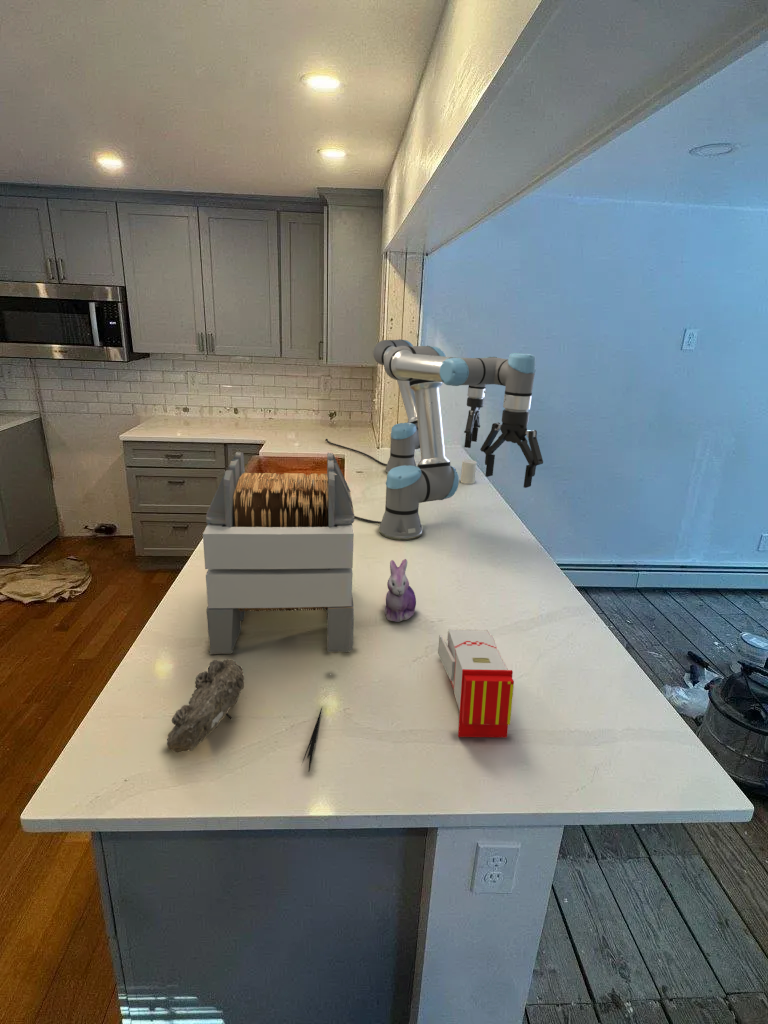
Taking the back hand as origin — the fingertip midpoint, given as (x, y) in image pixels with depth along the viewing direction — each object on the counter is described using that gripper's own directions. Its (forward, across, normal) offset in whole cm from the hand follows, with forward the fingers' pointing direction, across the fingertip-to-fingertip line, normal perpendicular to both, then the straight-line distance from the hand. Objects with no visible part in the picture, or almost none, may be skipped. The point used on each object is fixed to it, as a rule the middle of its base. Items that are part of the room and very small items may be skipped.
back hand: (470, 444), depth 259 cm
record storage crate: (+17, -142, +16) cm, 144 cm away
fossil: (+17, -180, +10) cm, 181 cm away
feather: (+16, -173, -9) cm, 174 cm away
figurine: (+17, -129, -10) cm, 130 cm away
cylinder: (+18, 0, -1) cm, 18 cm away
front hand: (-11, -87, -28) cm, 92 cm away
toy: (+16, -153, -34) cm, 157 cm away
